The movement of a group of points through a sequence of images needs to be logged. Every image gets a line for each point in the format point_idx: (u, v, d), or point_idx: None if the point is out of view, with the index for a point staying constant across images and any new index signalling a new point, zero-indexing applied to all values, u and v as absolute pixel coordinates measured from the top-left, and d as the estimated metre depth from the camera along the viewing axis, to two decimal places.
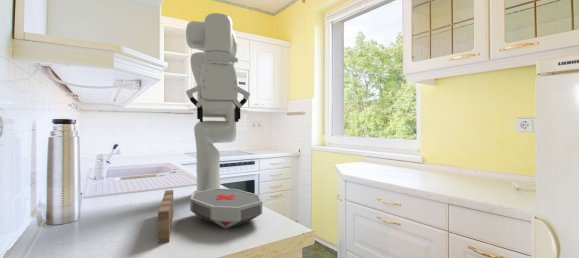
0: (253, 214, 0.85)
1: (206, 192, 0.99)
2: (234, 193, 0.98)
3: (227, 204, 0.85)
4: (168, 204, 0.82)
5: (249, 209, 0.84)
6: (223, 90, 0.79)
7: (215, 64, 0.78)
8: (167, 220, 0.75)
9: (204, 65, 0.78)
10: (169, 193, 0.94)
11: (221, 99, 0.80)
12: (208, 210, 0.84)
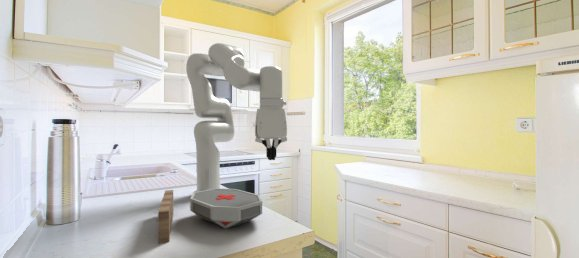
0: (253, 214, 0.85)
1: (206, 192, 0.99)
2: (234, 193, 0.98)
3: (227, 204, 0.85)
4: (168, 204, 0.82)
5: (249, 209, 0.84)
6: (276, 130, 0.95)
7: (269, 108, 0.94)
8: (167, 220, 0.75)
9: (260, 109, 0.94)
10: (169, 193, 0.94)
11: (274, 137, 0.95)
12: (208, 210, 0.84)
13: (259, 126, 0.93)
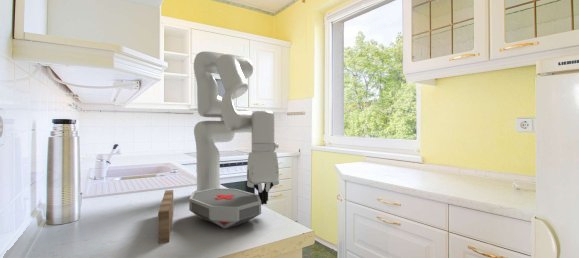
0: (252, 214, 0.85)
1: (205, 192, 0.99)
2: (233, 193, 0.97)
3: (226, 204, 0.84)
4: (168, 204, 0.82)
5: (248, 209, 0.84)
6: (267, 174, 0.94)
7: (261, 153, 0.93)
8: (167, 220, 0.75)
9: (252, 155, 0.93)
10: (169, 193, 0.94)
11: (266, 182, 0.95)
12: (207, 210, 0.83)
13: (251, 171, 0.93)
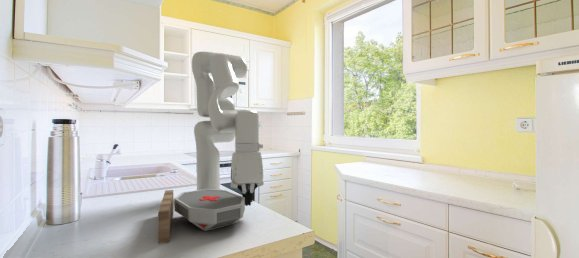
0: (232, 217, 0.82)
1: (195, 192, 0.98)
2: (221, 194, 0.95)
3: (206, 206, 0.82)
4: (168, 204, 0.82)
5: (227, 212, 0.81)
6: (251, 175, 0.93)
7: (244, 154, 0.92)
8: (167, 220, 0.75)
9: (235, 155, 0.91)
10: (169, 193, 0.94)
11: (249, 182, 0.93)
12: (187, 211, 0.82)
13: (234, 172, 0.91)
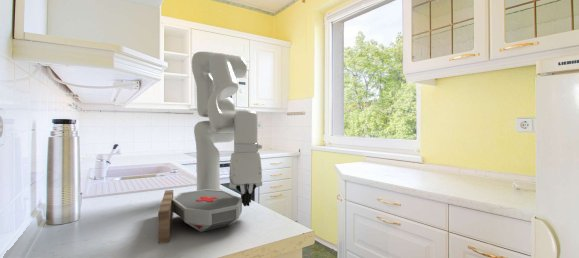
0: (227, 219, 0.81)
1: (193, 193, 0.98)
2: (219, 195, 0.95)
3: (202, 207, 0.82)
4: (168, 204, 0.82)
5: (222, 213, 0.80)
6: (250, 176, 0.93)
7: (243, 154, 0.92)
8: (167, 220, 0.75)
9: (234, 155, 0.91)
10: (169, 193, 0.94)
11: (248, 183, 0.93)
12: (182, 212, 0.82)
13: (232, 172, 0.91)
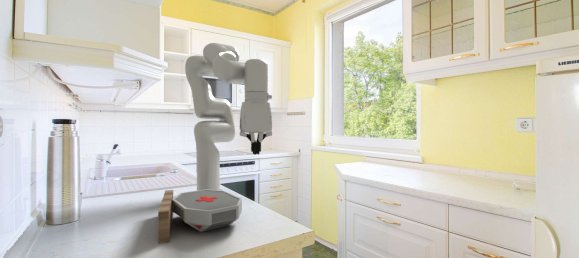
0: (227, 218, 0.81)
1: (193, 193, 0.98)
2: (219, 195, 0.95)
3: (201, 207, 0.82)
4: (168, 204, 0.82)
5: (222, 213, 0.80)
6: (260, 124, 0.93)
7: (254, 102, 0.92)
8: (167, 220, 0.75)
9: (245, 103, 0.92)
10: (169, 193, 0.94)
11: (258, 131, 0.94)
12: (182, 212, 0.82)
13: (243, 120, 0.92)
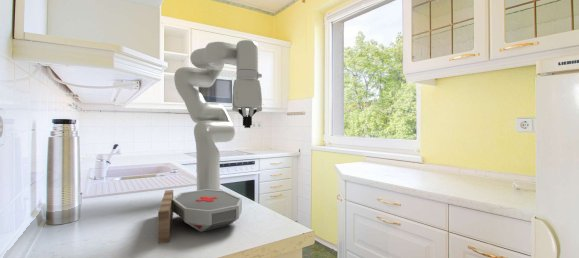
0: (227, 219, 0.81)
1: (193, 193, 0.98)
2: (219, 195, 0.95)
3: (202, 207, 0.82)
4: (168, 204, 0.82)
5: (222, 213, 0.80)
6: (251, 99, 1.02)
7: (245, 79, 1.01)
8: (167, 220, 0.75)
9: (236, 80, 1.01)
10: (169, 193, 0.94)
11: (249, 106, 1.03)
12: (182, 212, 0.82)
13: (235, 95, 1.01)
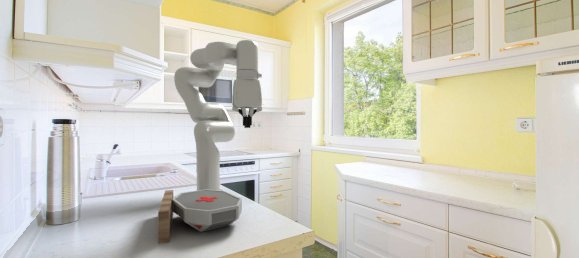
0: (227, 218, 0.81)
1: (193, 193, 0.98)
2: (219, 195, 0.95)
3: (201, 207, 0.82)
4: (168, 204, 0.82)
5: (222, 213, 0.80)
6: (251, 99, 1.02)
7: (245, 79, 1.01)
8: (167, 220, 0.75)
9: (236, 80, 1.01)
10: (169, 193, 0.94)
11: (249, 106, 1.03)
12: (182, 212, 0.82)
13: (235, 95, 1.01)
